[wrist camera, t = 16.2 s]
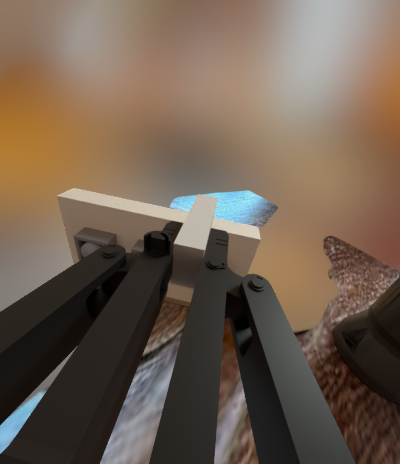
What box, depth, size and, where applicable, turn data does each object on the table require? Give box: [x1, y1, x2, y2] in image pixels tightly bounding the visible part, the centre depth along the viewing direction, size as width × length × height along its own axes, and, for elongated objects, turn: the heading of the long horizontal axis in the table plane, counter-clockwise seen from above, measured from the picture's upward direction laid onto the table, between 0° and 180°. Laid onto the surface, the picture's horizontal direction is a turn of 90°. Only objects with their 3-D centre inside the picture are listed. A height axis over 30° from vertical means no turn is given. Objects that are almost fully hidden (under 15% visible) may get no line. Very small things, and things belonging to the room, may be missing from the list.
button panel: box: [57, 188, 261, 307], centre depth 39 cm, size 11×34×20 cm, turn 81°
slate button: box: [80, 242, 103, 258], centre depth 34 cm, size 2×4×4 cm, turn 81°
